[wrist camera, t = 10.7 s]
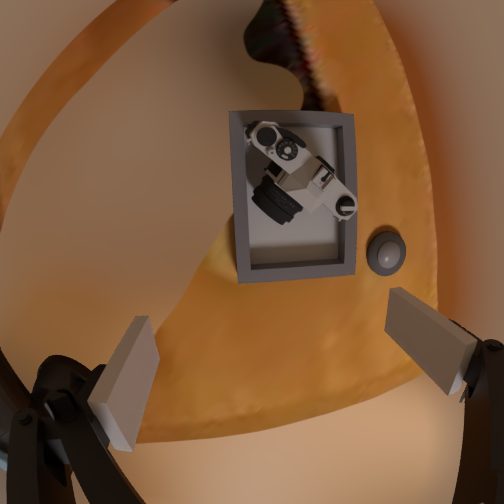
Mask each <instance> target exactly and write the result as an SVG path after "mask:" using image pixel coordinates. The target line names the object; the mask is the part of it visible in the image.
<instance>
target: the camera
mask: <svg viewBox="0 0 504 504" xmlns="http://www.w3.org/2000/svg"><path fill="white" fill-rule="evenodd" d="M248 126H249V127H248V128H247V129H246V131H245V135H246V138H247V139H246V140H245V141H246V142H248V144H249V145H250V143H252V144H253V145H254V146H255V147H257V148H258V149H259V150H260V151H262V152H263V153H264V154H265V155H267V156H268V157H269V158H270V159H271V160H272V161H271V162H270V164H269V165H268V167H267V168H264V171H265V172H266V173H267V174H266V175H265V176H263V177H262V181H261V184H260V185H259V186H257V187H256V188H255V189H254V190H253V193H254V195H253V196H252V197H251V199H252V201H253V202H254V203H255V204H256V205H257V206H258V207H259V208H260V209H261V210H262V211H263V212H264V213H265V214H266V215H268V216H269V217H270V218H271V219H273V220H274V221H275V222H277V223H279V224H280V225H284V223H285V222H288V223H290V221H291V220H292V219H293V218H294V215H295V214H296V213H298V212H301V211H302V210H303V208H305V209H306V210H307V211H309V212H310V213H312V212H313V211H314V210H315V209H316V208H317V207H319V206H320V205H321V204H323V205H324V206H325V207H327V208H328V209H329V210H330V211H331V212H332V213H333V214H335V215H336V217H335V216H334V215H333V217H335V218H337V221H341V219H344V220H349V218H350V217H351V216H352V215H353V214H354V213H355V212H356V211H357V209H358V204H357V198H356V197H355V196H354V195H353V194H352V193H351V192H350V191H349V190H348V189H347V188H346V187H345V186H344V185H343V184H342V183H341V182H340V181H339V180H338V179H337V178H336V176H335V175H334V174H335V173H334V172H335V171H336V170H335V169H334V168H333V167H332V166H331V165H330V164H329V163H327V162H326V161H325V160H324V159H323V158H322V157H321V156H317V157H316V156H315V157H314V156H313V155H312V154H311V153H310V152H309V151H308V150H306V149H305V147H306V143H305V142H304V141H303V140H302V139H301V138H300V137H298V136H297V135H295V134H294V133H292V132H291V131H289V130H286V129H283V128H281V127H280V126H279V125H278V124H277V123H275V122H272V121H253V122H252V124H249V125H248ZM249 142H250V143H249Z"/></svg>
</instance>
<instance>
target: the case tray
mask: <svg viewBox="0 0 504 504" xmlns="http://www.w3.org/2000/svg"><path fill="white" fill-rule="evenodd" d="M253 121H272V122H275V123H277V124H278V125H279V126H280V127H281V128H283V129H286V130H289V131H291V132H292V133H294V134H295V135H297V136H298V137H300V138H301V139H302V140H303V141H304V142H305V143H306V147H305V149H306V150H308V151H309V152H310V153H311V154H312V155H313V156H314V157H315V156H316V157H317V156H321V157H322V158H323V159H324V160H325V161H326V162H327V163H329V164H330V165H331V166H332V167H333V168H334V169H335V170H336V171H335V172H334V173H335V174H334V175H335V176H336V178H337V179H338V180H339V181H340V182H341V183H342V184H343V185H344V186H345V187H346V188H347V189H348V190H349V191H350V192H351V193H352V194H353V195H354V196H355V197H356V198H357V161H356V141H355V127H354V115H353V114H347V113H335V112H321V111H300V110H249V111H248V110H247V111H229V126H230V148H231V170H232V189H233V205H234V206H233V207H234V225H235V242H236V258H237V274H238V284H241V283H256V282H271V281H285V280H298V279H310V278H322V277H334V276H345V275H355V264H356V244H357V211H356V212H355V213H354V214H353V215H352V216H351V217H350V218H349V220H344V219H341V221H337V218H335V217H336V215H335V214H333V213H332V212H331V211H330V210H329V209H328V208H327V207H325V206H324V205H323V204H321V205H320V206H319V207H317V208H316V209H315V210H314V211H313V212H312V213H310V212H309V211H307V210H306V209H305V208H303V210H302V211H301V212H298V213H296V214H295V215H294V218H293V219H292V220H291V221H290V223H288V222H285V223H284V225H280V224H279V223H277V222H275V221H274V220H273V219H271V218H270V217H269V216H268V215H266V214H265V213H264V212H263V211H262V210H261V209H260V208H259V207H258V206H257V205H256V204H255V203H254V202H253V201H252V199H251V197H252V196H253V195H254V193H253V190H254V189H255V188H256V187H257V186H259V185H260V184H261V181H262V177H263V176H265V175H266V174H267V173H266V172H265V171H264V168H267V167H268V165H269V164H270V162H271V161H272V160H271V159H270V158H269V157H268V156H267V155H265V154H264V153H263V152H262V151H260V150H259V149H258V148H257V147H255V146H254V145H253V144H252V143H250V142H249V143H250V145H249V144H248V142H246V141H245V140H246V139H247V138H246V135H245V131H246V129H247V128H248V127H249V126H248V125H249V124H252V122H253ZM333 215H334V216H335V217H333Z"/></svg>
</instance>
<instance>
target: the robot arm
mask: <svg viewBox="0 0 504 504" xmlns="http://www.w3.org/2000/svg"><path fill="white" fill-rule="evenodd" d="M384 331H385V332H386V333H387V334H388V335H389V336H390V337H391V338H392V339H393V340H394V341H395V342H396V343H397V344H398V345H399V346H400V347H401V348H402V349H403V350H404V351H405V352H406V353H407V354H408V355H409V356H410V357H411V358H412V359H413V360H414V361H415V362H416V363H417V364H418V365H419V366H420V367H421V368H422V369H423V370H424V371H425V373H426V374H428V376H429V377H430V378H431V379H432V380H433V381H434V382H435V383H436V384H437V385H438V386H439V387H440V388H441V389H442V390H443V391H444V393H446V395H447V396H449V395H451V394H453V393H455V392H457V391H458V390H459V389H460V387H461V384H462V382H463V380H464V381H465V382H466V383H467V385H466V388H465V390H464V392H463V395H462V397H461V399H460V402H462V400H463V399H464V398H465V402H464V403H465V415H464V431H463V442H462V451H461V459H460V466H459V472H458V477H457V483H456V488H455V493H454V497H453V501H452V504H504V345H503V344H502V343H501V342H499V341H497V340H493V339H488V340H485V341H484V342H483V341H482V340H480V339H479V338H478V337H476V336H475V335H473V334H472V333H471V332H469V331H466V329H465V328H464V327H461V325H459V324H458V323H456V322H455V321H453V320H450V319H447V318H446V317H444V316H443V315H441V314H440V313H439V312H437V311H436V310H434V309H433V308H431V307H430V306H428V305H427V304H425V303H424V302H422V301H421V300H419V299H418V298H416V297H415V296H413V295H412V294H410V293H409V292H407V291H406V290H404V289H403V288H401V287H397V288H391V289H390V291H389V300H388V308H387V316H386V323H385V330H384ZM159 361H160V357H159V354H158V350H157V346H156V342H155V338H154V334H153V331H152V327H151V322H150V318H149V316H136V317H135V318H134V320H133V321H132V323H131V325H130V326H129V328H128V329H127V331H126V333H125V335H124V336H123V338H122V339H121V341H120V343H119V345H118V346H117V348H116V350H115V351H114V353H113V355H112V357H111V359H110V360H109V362H108V364H107V365H105V364H100V365H98V366H97V367H96V368H95V369H93V370H92V371H90V370H89V369H88V368H87V367H85V366H84V365H82V364H81V363H79V362H77V361H76V360H74V359H71V358H69V357H66V356H62V355H52V356H49V357H48V358H46V360H45V361H44V362H43V363H42V364H41V365H40V367H39V369H38V372H37V379H36V381H35V383H34V386H33V390H32V393H31V394H30V393H29V391H28V390H27V389H26V387H25V386H24V384H23V383H22V382H21V380H20V379H19V377H18V376H17V375H16V373H15V372H14V370H13V369H12V367H11V366H10V364H9V363H8V361H7V359H6V358H5V356H4V354H3V353H2V351H1V347H0V467H1V468H2V469H3V470H5V471H6V472H7V481H6V482H7V483H6V487H7V489H6V490H7V504H76V502H75V497H74V492H73V486H72V480H71V474H72V472H73V471H74V473H75V475H76V478H77V480H78V482H79V484H80V486H81V488H82V490H83V492H84V494H85V496H86V498H87V499H88V501H89V503H90V504H146V503H145V502H144V500H143V499H142V498H141V497H140V495H139V494H138V493H137V491H136V490H135V489H134V487H133V486H132V485H131V483H130V482H129V480H128V479H127V477H126V476H125V475H124V473H123V472H122V470H121V469H120V467H119V466H118V464H117V463H116V461H115V459H114V458H113V456H112V455H111V453H110V452H109V450H108V449H107V448H108V446H109V442H111V443H112V445H113V446H114V448H115V449H116V450H121V451H129V452H133V450H134V446H135V443H136V439H137V435H138V432H139V428H140V424H141V421H142V417H143V414H144V410H145V407H146V403H147V400H148V397H149V393H150V390H151V387H152V383H153V380H154V377H155V374H156V371H157V367H158V364H159Z"/></svg>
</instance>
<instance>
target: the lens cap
mask: <svg viewBox="0 0 504 504" xmlns="http://www.w3.org/2000/svg"><path fill="white" fill-rule="evenodd" d="M405 256H406V246H405V243H404V241H403V239H402V238H401V237H400V236H399V235H398V234H395V233H393V232H389V231H386V232H381V233H379V234H378V235H376V236H375V237H374V238H373V239H372V241H371V242H370V244H369V246H368V249H367V263H368V265H369V267H370V268H371V270H373V271H374V272H375V273H377V274H378V275H381V276H389V275H392V274H394V273H395V272H396V271H398V270H399V269H400V267H401V266H402V264H403V262H404V260H405Z"/></svg>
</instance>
